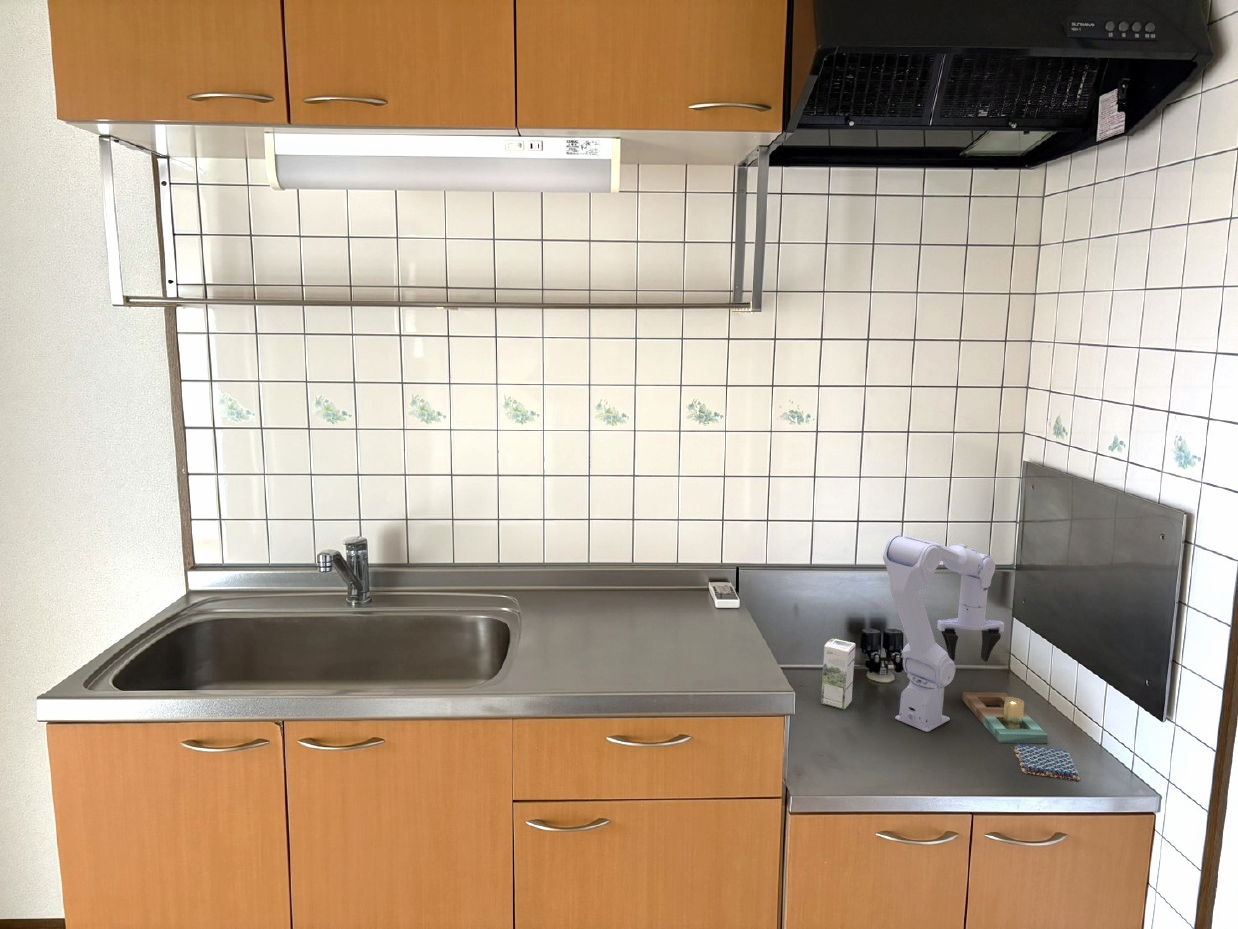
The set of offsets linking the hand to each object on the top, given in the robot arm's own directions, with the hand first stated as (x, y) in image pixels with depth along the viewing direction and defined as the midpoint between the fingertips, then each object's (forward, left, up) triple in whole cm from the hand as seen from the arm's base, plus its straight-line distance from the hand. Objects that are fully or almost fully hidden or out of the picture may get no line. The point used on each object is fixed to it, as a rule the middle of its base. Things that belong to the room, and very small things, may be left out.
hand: (967, 659), depth 196 cm
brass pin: (-5, -14, -10) cm, 18 cm away
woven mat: (-13, -25, -11) cm, 30 cm away
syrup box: (-24, +18, -11) cm, 32 cm away
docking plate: (-2, -10, -10) cm, 15 cm away
